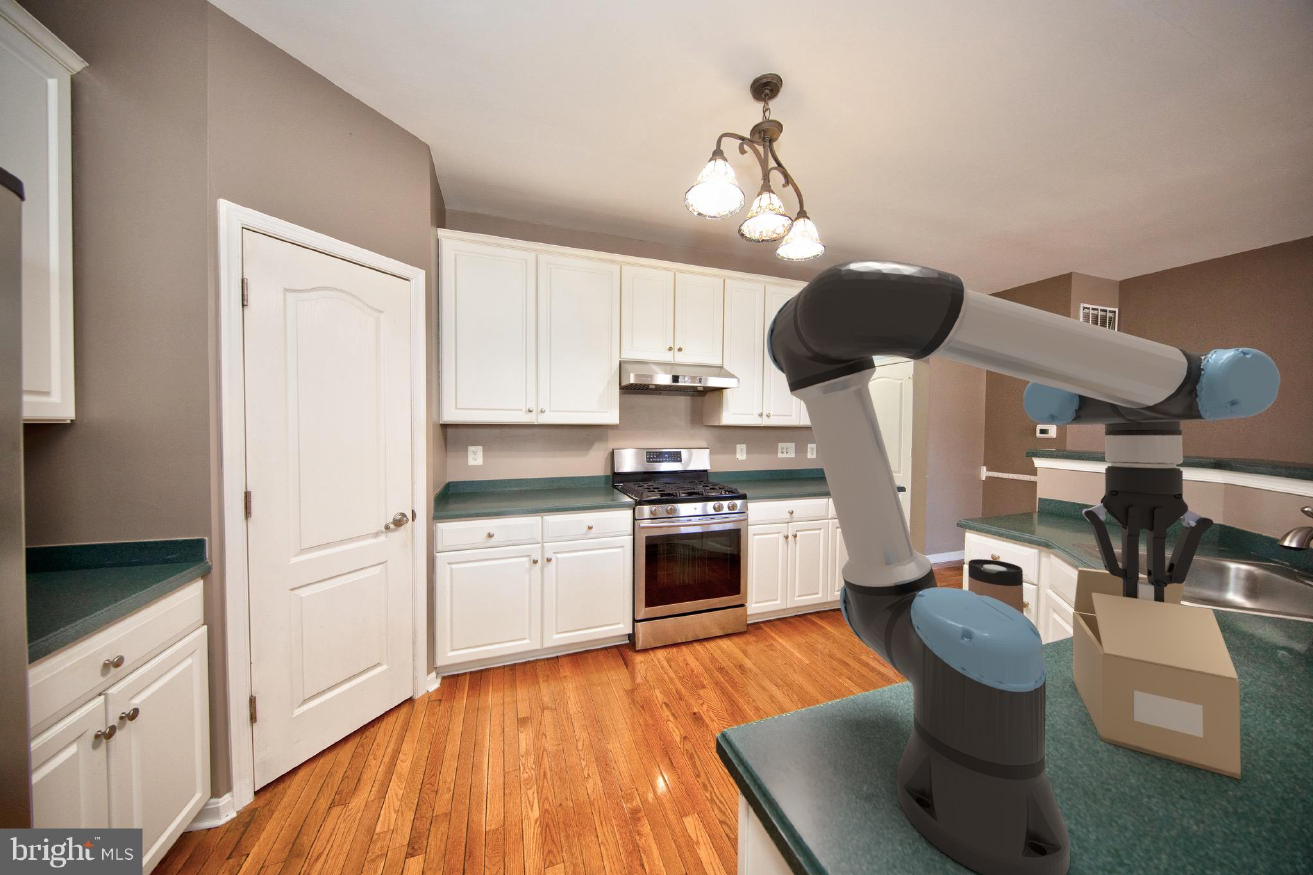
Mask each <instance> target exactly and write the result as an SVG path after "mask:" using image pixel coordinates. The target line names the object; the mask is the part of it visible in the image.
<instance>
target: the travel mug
mask: <svg viewBox="0 0 1313 875" xmlns="http://www.w3.org/2000/svg"><path fill="white" fill-rule="evenodd" d="M967 566H968V569H967V570H968V572H967V573H968V579H967V580H968V581H967V582H968V590H967V591H971V592H974V593H975V594H977V595H980V596H984V595H985V596H988V597H991V598H994V599H996V600H999V601H1001V602H1003V603H1005V604H1007V605H1009V606H1011V607H1013V608H1015V609H1016V610H1018V611H1019V612H1021V613H1022V614H1023V615H1025V614H1024V612H1025V611H1024V609H1025V608H1024V572H1023V568H1022V567H1021V566H1019V565H1017V564H1014V563H1011V562H1006V561H1001V560H994V559H986V558H984V559H983V558H981V559H980V558H978V559H976V558H975V559H971V560H968V565H967Z"/></svg>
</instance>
